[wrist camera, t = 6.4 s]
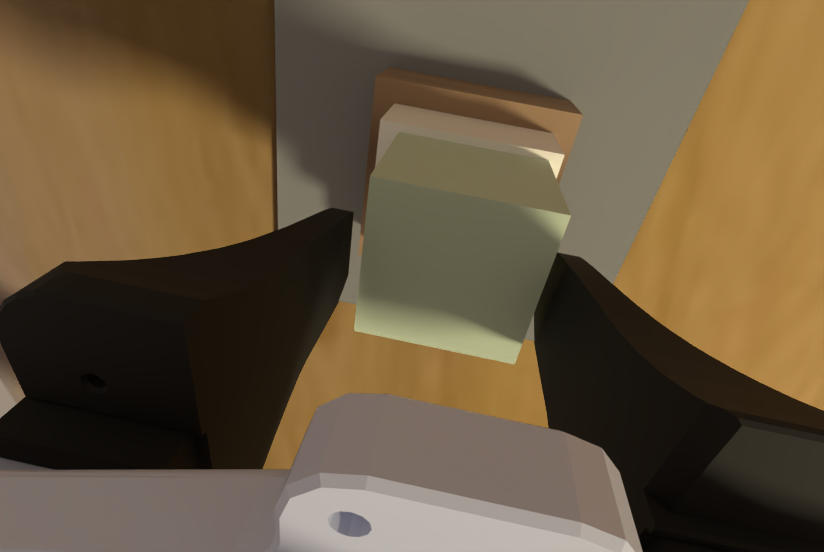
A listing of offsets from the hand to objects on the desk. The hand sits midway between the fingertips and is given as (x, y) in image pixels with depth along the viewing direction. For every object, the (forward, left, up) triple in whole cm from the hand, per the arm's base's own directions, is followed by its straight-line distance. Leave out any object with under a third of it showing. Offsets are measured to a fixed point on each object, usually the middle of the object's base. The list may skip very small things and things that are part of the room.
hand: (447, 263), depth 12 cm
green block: (0, 0, -3) cm, 3 cm away
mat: (0, 0, -8) cm, 8 cm away
